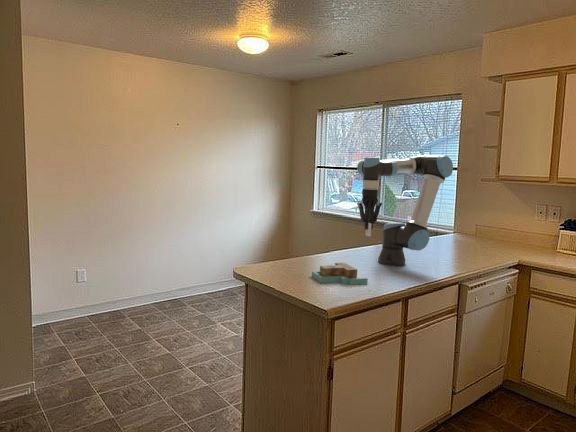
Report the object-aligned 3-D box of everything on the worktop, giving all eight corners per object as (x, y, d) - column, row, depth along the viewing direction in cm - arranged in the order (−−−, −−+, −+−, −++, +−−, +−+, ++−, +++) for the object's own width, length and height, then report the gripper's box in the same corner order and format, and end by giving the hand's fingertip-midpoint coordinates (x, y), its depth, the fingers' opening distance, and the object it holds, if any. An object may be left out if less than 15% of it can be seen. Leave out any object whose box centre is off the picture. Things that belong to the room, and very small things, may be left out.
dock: (347, 271, 220) (347, 267, 220) (367, 283, 200) (367, 278, 200) (308, 273, 213) (308, 268, 213) (324, 286, 194) (325, 280, 193)
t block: (343, 274, 216) (344, 262, 215) (356, 282, 202) (357, 269, 202) (315, 275, 211) (316, 263, 210) (327, 283, 198) (328, 270, 197)
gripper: (378, 188, 217) (375, 234, 220) (354, 188, 212) (352, 235, 216) (386, 189, 210) (383, 236, 213) (362, 189, 205) (360, 237, 209)
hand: (368, 235), depth 214 cm, fingers closed
